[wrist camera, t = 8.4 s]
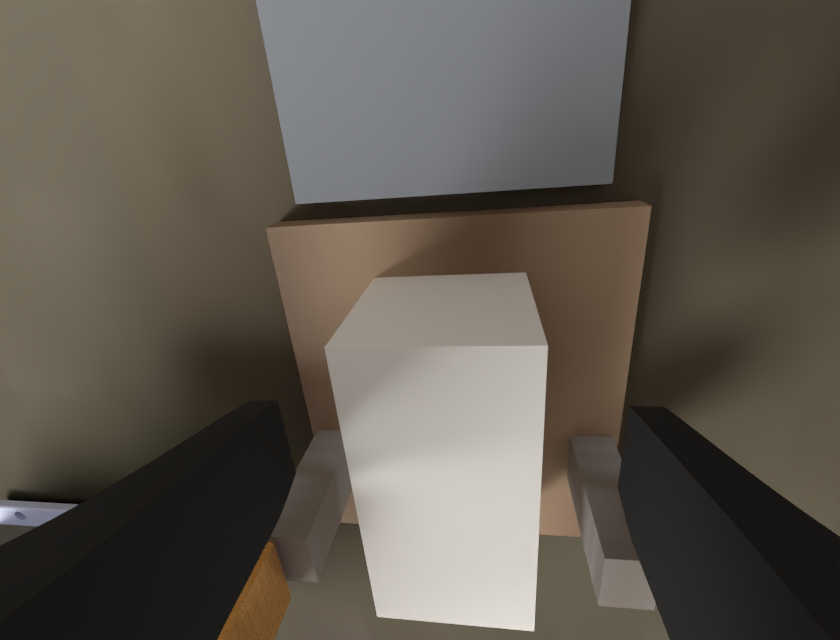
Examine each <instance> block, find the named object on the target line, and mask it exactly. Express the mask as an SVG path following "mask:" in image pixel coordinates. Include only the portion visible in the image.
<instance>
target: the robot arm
mask: <svg viewBox="0 0 840 640" xmlns="http://www.w3.org/2000/svg"><path fill="white" fill-rule="evenodd" d="M295 475H296V470H295V467H294V463H293V459H292V455H291V452H290V448H289V444H288V440H287V437H286V433H285V429H284V425H283V422H282V418H281V414H280V410H279V407H278V403H277V401H250V402H248V403H246V404H244V405H242V406H240V407H239V408H237V409H235V410H234V411H232V412H230V413H228V414H227V415H225V416H224V417H222V418H220V419H219V420H217V421H215V422H214V423H212V424H211V425H209V426H208V427H206V428H204V429H203V430H201V431H200V432H198V433H196V434H195V435H193V436H192V437H190V438H189V439H187V440H185V441H184V442H182V443H181V444H179V445H177V446H176V447H174V448H173V449H171V450H169V451H168V452H166V453H165V454H163V455H162V456H160V457H158V458H157V459H155V460H154V461H152V462H150V463H149V464H147V465H145V466H144V467H142V468H140V469H139V470H137V471H135V472H134V473H132V474H130V475H128V476H127V477H125V478H123V479H122V480H120V481H118V482H117V483H115V484H113V485H112V486H110V487H108V488H106V489H105V490H103V491H101V492H100V493H98V494H96V495H95V496H93V497H91V498H90V499H88V500H86V501H84V502H82V503H81V504H64V503H47V502H29V501H12V500H2V501H0V524H8V525H23V526H38V527H36V528H34V529H32V530H30V531H28V532H26V533H24V534H22V535H20V536H18V537H16V538H14V539H12V540H10V541H8V542H6V543H4V544H2V545H0V640H217V639H218V637H219V635H220V633H221V631H222V629H223V627H224V625H225V623H226V621H227V619H228V617H229V615H230V613H231V611H232V609H233V608H234V606H235V604H236V602H237V600H238V598H239V596H240V594H241V592H242V590H243V588H244V586H245V585H246V583H247V581H248V579H249V577H250V575H251V573H252V571H253V569H254V567H255V565H256V563H257V562H258V560H259V558H260V556H261V554H262V552H263V550H264V548H265V546H266V544H267V542H268V540H269V538H270V536H271V534H272V532H273V530H274V528H275V526H276V524H277V522H278V520H279V518H280V516H281V513H282V511H283V508H284V505H285V503H286V500H287V498H288V495H289V492H290V489H291V486H292V483H293V480H294V478H295ZM618 491H619V495H620V499H621V503H622V507H623V511H624V515H625V519H626V522H627V526H628V530H629V533H630V537H631V540H632V543H633V546H634V548H635V551H636V554H637V556H638V559H639V561H640V564H641V566H642V569H643V572H644V574H645V577H646V579H647V582H648V585H649V587H650V590H651V592H652V595H653V597H654V600H655V602H656V605H657V607H658V610H659V612H660V615H661V618H662V620H663V623H664V625H665V628H666V630H667V633H668V635H669V638H670V640H840V537H839V536H838V535H836V534H835V533H834V532H832V531H831V530H829V529H828V528H826V527H825V526H823V525H822V524H820V523H819V522H818V521H816V520H815V519H813V518H812V517H810V516H809V515H807V514H806V513H805V512H803V511H802V510H800V509H799V508H798V507H796V506H795V505H794V504H792V503H791V502H789V501H788V500H787V499H785V498H784V497H782V496H781V495H780V494H778V493H777V492H776V491H774V490H773V489H772V488H770V487H769V486H767V485H766V484H765V483H763V482H762V481H761V480H759V479H758V478H757V477H755V476H754V475H753V474H751V473H750V472H749V471H747V470H746V469H745V468H743V467H742V466H741V465H740V464H738V463H737V462H736V461H734V460H733V459H732V458H730V457H729V456H728V455H726V454H725V453H724V452H723V451H721V450H720V449H719V448H717V447H716V446H715V445H714V444H712V443H711V442H710V441H708V440H707V439H706V438H705V437H703V436H702V435H701V434H699V433H698V432H697V431H696V430H694V429H693V428H692V427H690V426H689V425H688V424H687V423H685V422H684V421H683V420H681V419H680V418H679V417H677V416H676V415H675V414H673V413H672V412H671V411H669V410H668V409H666V408H665V407H636V406H629V413H628V420H627V427H626V433H625V440H624V447H623V453H622V460H621V467H620V474H619V480H618Z"/></svg>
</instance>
